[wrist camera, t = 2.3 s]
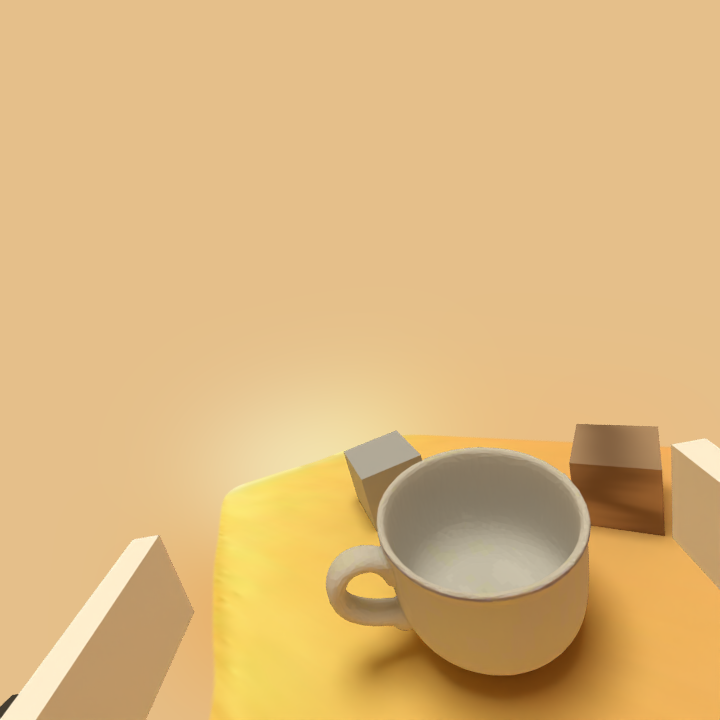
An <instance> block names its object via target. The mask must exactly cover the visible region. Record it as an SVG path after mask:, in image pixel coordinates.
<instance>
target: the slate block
mask: <svg viewBox="0 0 720 720" xmlns="http://www.w3.org/2000/svg"><path fill="white" fill-rule="evenodd" d="M344 454H345V458H346V461H347V464H348V467H349V471H350V474H351V477H352V480H353V484H354V487H355V490H356V493H357V497H358V499H359V501H360V503H361V505H362V506H363V508H364V510H365V512H366V513H367V515H368V517H369V519H370V520H371V522H372V524H373V526H374V527H375V529H376V531H377V512H378V507H379V503H380V501H381V499H382V496H383V494H384V493H385V491H386V490H387V488H388V487H389V485H390V484H391V483H392V482H393V481H394V480H395V479H396V478H397V477H398V476H399V475H400V474H401V473H402V472H403V471H405V470H406V469H408V468H409V467H411V466H412V465H414V464H416V463H418V462H420V461H422V458H421V455H420V454H419V453H418V452H417V451H416V450H415V449H414V448H413V447H412V446H411V445H410V444H409V443H408V442H407V441H406V440H405V439H404V438H403V437H402V436H401V435H400V434H399V433H398V432H397V431H394V432H391V433H389V434H387V435H384V436H381V437H379V438H377V439H374V440H372V441H369V442H367V443H364V444H361V445H359V446H356V447H354V448H351V449H349V450H346V451H344Z"/></svg>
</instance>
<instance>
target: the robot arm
mask: <svg viewBox="0 0 720 720" xmlns="http://www.w3.org/2000/svg"><path fill="white" fill-rule="evenodd" d="M671 447H672V538H673V539H674V540H675V541H676V542H677V543H678V544H679V545H680V546H681V548H682V549H683V550H684V551H685V552H686V553H687V554H688V555H689V556H690V557H691V558H692V560H693V561H694V562H695V563H696V564H697V565H698V566H699V567H700V568H701V569H702V571H703V572H704V573H705V574H706V575H707V576H708V577H709V578H710V579H711V580H712V581H713V583H714V584H715V585H716V586H717V587H718V588H719V589H720V448H718V447H717V446H716V445H714V444H713V443H711V442H710V441H708V440H707V439H700V440H695V441H689V442H683V443H678V444H673V445H671ZM193 614H194V610H193V608H192V606H191V604H190V602H189V599H188V597H187V595H186V593H185V591H184V588H183V586H182V584H181V582H180V580H179V577H178V575H177V573H176V571H175V569H174V566H173V564H172V562H171V560H170V558H169V555H168V553H167V551H166V549H165V547H164V545H163V542H162V540H161V538H160V536H159V535H156V536H151V537H145V538H139V539H133V540H132V541H131V543H130V544H129V546H128V547H127V548H126V550H125V551H124V552H123V554H122V555H121V556H120V558H119V559H118V561H117V562H116V563H115V564H114V566H113V567H112V569H111V570H110V571H109V573H108V574H107V575H106V577H105V578H104V579H103V581H102V582H101V583H100V585H99V586H98V587H97V589H96V590H95V592H94V593H93V594H92V596H91V597H90V598H89V600H88V601H87V602H86V604H85V605H84V607H83V608H82V609H81V611H80V612H79V613H78V615H77V616H76V617H75V619H74V620H73V622H72V623H71V624H70V626H69V627H68V628H67V629H66V631H65V632H64V634H63V635H62V636H61V638H60V639H59V640H58V642H57V643H56V644H55V646H54V647H53V648H52V650H51V651H50V653H49V654H48V655H47V657H46V658H45V659H44V661H43V662H42V663H41V665H40V666H39V667H38V669H37V670H36V672H35V673H34V674H33V676H32V677H31V678H30V680H29V681H28V682H27V684H26V685H25V686H24V688H23V689H22V690H21V692H20V693H19V694H16V695H12V696H11V697H10V698H9V699H8V700H7V701H6V702H5V703H4V704H3V705H2V706H1V707H0V720H146V718H147V716H148V714H149V711H150V709H151V707H152V705H153V702H154V700H155V698H156V696H157V694H158V691H159V689H160V687H161V685H162V683H163V680H164V678H165V676H166V673H167V671H168V669H169V667H170V665H171V663H172V660H173V658H174V656H175V654H176V651H177V649H178V647H179V645H180V642H181V640H182V638H183V636H184V634H185V632H186V629H187V627H188V625H189V622H190V620H191V618H192V616H193Z"/></svg>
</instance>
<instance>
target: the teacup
mask: <svg viewBox="0 0 720 720" xmlns="http://www.w3.org/2000/svg"><path fill="white" fill-rule="evenodd" d="M590 528H591V521H590V515H589V511H588V508H587V504H586V502H585V501H584V499H583V497H582V495H581V493H580V491H579V490H578V489H577V487H576V486H575V485H574V484H573V482H572V481H571V480H570V479H569V478H568V477H567V476H566V475H565V474H564V473H561V472H560V471H559V470H558V469H556V468H555V467H553V466H551V465H550V464H548V463H547V462H545V461H543V460H540V459H538V458H535V457H533V456H531V455H528V454H525V453H521V452H517V451H513V450H507V449H499V448H483V447H477V448H465V449H457V450H451V451H448V452H443V453H440V454H437V455H434V456H431V457H428V458H426V459H424V460H423V461H420V462H418V463H416V464H414V465H412V466H411V467H409V468H408V469H406V470H405V471H403V472H402V473H401V474H400V475H399V476H398V477H397V478H396V479H395V480H394V481H393V482H392V483H391V484H390V485H389V487H388V488H387V490H386V491H385V493H384V494H383V496H382V499H381V501H380V503H379V507H378V512H377V532H378V537H379V541H380V545H381V546H380V547H378V546H373V545H360V546H356V547H353V548H350V549H348V550H345V551H344V552H342V553H341V554H340V555H339V556H337V557H336V559H335V560H334V561H333V563H332V564H331V566H330V568H329V570H328V574H327V579H326V590H327V594H328V597H329V601H330V603H331V605H332V607H333V608H334V610H335V611H336V613H338V614H339V615H340V616H341V617H342V618H344V619H345V620H347V621H349V622H352V623H356V624H360V625H367V626H395V627H397V628H398V629H400V630H406V631H407V630H412V629H414V631H415V632H416V633H417V634H418V636H419V637H420V638H421V639H422V640H423V642H424V643H425V644H426V645H427V646H428V647H430V648H431V649H432V650H433V651H434V652H435V653H437V654H438V655H439V656H441V657H442V658H444V659H445V660H447V661H448V662H450V663H452V664H454V665H456V666H459V667H461V668H463V669H466V670H469V671H473V672H476V673H481V674H486V675H516V674H521V673H525V672H529V671H532V670H535V669H538V668H540V667H542V666H544V665H546V664H548V663H549V662H551V661H552V660H554V659H555V658H557V657H558V656H559V655H560V654H562V653H563V652H564V651H565V650H566V648H567V647H568V646H569V645H570V644H571V643H572V641H573V640H574V638H575V636H576V635H577V633H578V632H579V629H580V627H581V625H582V623H583V620H584V616H585V612H586V608H587V602H588V591H589V554H588V541H589V537H590ZM368 572H372V573H376V574H378V575H380V576H381V577H383V579H384V580H385V581H386V583H387V584H388V585H389V586H392V587H394V589H395V592H396V594H397V596H396V597H394V598H382V599H372V598H363V597H358V596H355V595H352V594H350V593H349V592H347V591H346V587H347V585H348V582H349V581H350V580H351V579H352V578H353V577H355V576H357V575H360V574H363V573H368Z"/></svg>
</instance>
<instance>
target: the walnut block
mask: <svg viewBox="0 0 720 720" xmlns="http://www.w3.org/2000/svg"><path fill="white" fill-rule="evenodd" d="M569 464H570V473H571V481H572V482H573V484H574V485H575V486H576V487H577V489H578V490H579V491H580V493H581V495H582V497H583V499H584V501H585V502H586V504H587V508H588V511H589V515H590V521H591V525H592V526H599V527H606V528H613V529H620V530H627V531H634V532H641V533H648V534H655V535H662V536H665V533H664V507H663V482H662V465H661V454H660V444H659V435H658V427H652V426H620V425H589V424H577V425H576V431H575V436H574V441H573V446H572V452H571V457H570V462H569Z"/></svg>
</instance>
